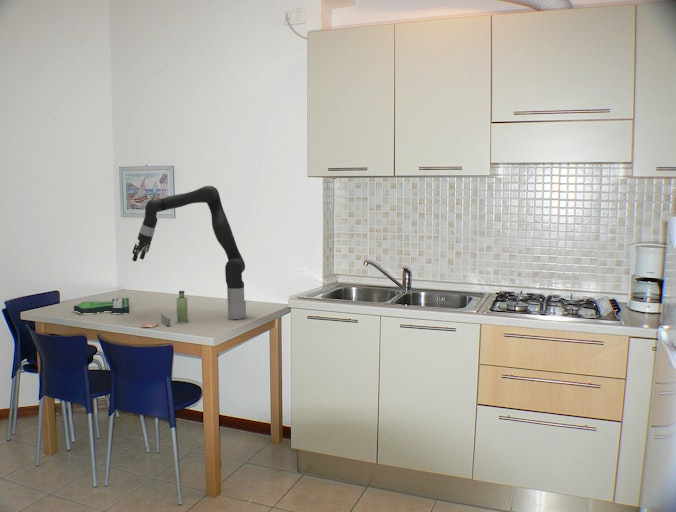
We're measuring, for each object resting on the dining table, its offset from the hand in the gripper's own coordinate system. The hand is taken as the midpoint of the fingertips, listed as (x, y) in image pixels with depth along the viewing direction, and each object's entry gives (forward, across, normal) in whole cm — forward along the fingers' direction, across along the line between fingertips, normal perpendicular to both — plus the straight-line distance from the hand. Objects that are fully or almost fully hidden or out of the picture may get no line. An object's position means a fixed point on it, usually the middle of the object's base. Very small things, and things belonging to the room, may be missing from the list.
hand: (137, 259), depth 318 cm
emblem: (+40, +7, +14) cm, 43 cm away
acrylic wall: (+21, -18, -34) cm, 44 cm away
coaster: (+23, -24, -28) cm, 43 cm away
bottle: (+18, -12, -40) cm, 46 cm away
